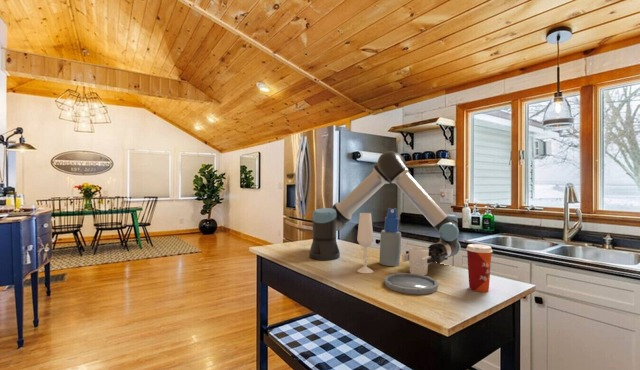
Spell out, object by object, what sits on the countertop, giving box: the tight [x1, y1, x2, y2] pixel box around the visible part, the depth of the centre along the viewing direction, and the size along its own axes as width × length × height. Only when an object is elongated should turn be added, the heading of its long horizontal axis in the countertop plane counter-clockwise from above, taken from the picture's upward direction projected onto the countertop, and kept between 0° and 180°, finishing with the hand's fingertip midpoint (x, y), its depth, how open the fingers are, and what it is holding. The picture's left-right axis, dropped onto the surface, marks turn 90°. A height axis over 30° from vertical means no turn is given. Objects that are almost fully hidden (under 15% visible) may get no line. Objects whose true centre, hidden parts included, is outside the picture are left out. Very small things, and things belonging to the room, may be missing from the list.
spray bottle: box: [378, 207, 402, 267], centre depth 143 cm, size 9×9×25 cm
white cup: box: [408, 246, 429, 276], centre depth 129 cm, size 8×8×10 cm
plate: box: [384, 272, 439, 296], centre depth 113 cm, size 18×18×2 cm
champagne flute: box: [356, 212, 374, 274], centre depth 131 cm, size 7×7×24 cm
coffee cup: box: [466, 243, 494, 293], centre depth 110 cm, size 8×8×15 cm
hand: (412, 260), depth 125 cm, fingers closed on white cup, 8 cm apart
